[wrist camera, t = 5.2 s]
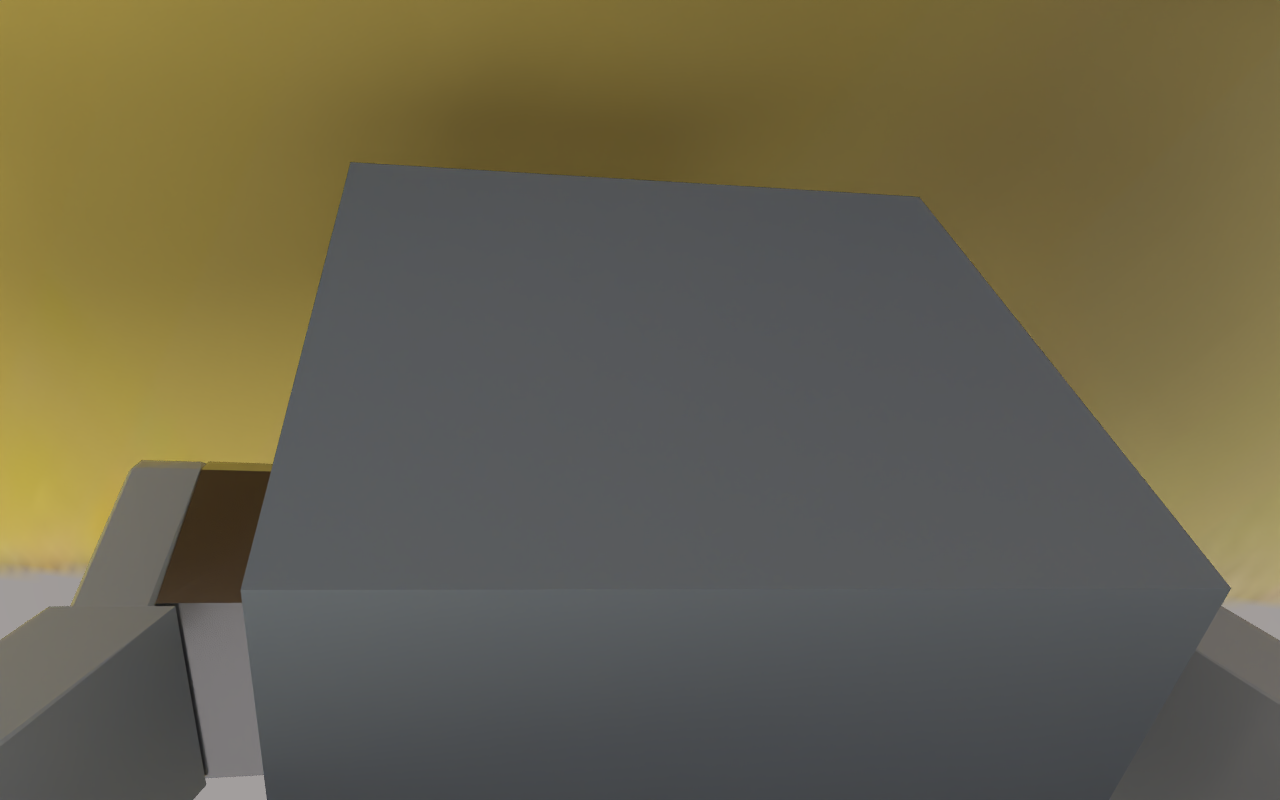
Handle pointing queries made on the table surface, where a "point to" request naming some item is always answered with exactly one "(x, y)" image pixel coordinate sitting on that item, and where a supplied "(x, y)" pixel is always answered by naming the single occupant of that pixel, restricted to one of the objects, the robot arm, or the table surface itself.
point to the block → (694, 512)
